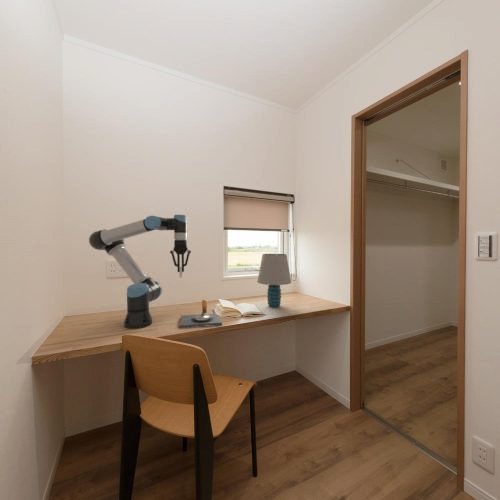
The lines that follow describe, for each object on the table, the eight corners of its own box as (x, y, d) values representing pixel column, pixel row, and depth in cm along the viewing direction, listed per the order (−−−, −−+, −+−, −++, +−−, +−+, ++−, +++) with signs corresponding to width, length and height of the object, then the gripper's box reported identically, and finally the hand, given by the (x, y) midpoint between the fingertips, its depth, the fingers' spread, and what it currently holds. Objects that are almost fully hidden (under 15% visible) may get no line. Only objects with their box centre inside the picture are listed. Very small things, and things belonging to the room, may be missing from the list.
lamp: (282, 312, 172) (283, 255, 170) (251, 307, 185) (251, 254, 183) (296, 304, 193) (296, 254, 192) (267, 300, 207) (267, 253, 205)
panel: (179, 328, 141) (179, 325, 141) (181, 317, 160) (181, 315, 160) (221, 325, 146) (221, 322, 146) (218, 315, 165) (218, 312, 165)
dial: (209, 321, 147) (209, 305, 147) (192, 321, 147) (192, 305, 147) (212, 314, 162) (212, 299, 161) (197, 314, 162) (196, 299, 161)
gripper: (169, 239, 151) (169, 278, 152) (191, 239, 154) (191, 277, 155) (170, 239, 159) (170, 276, 160) (191, 239, 161) (191, 276, 162)
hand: (180, 277), depth 157 cm, fingers closed
